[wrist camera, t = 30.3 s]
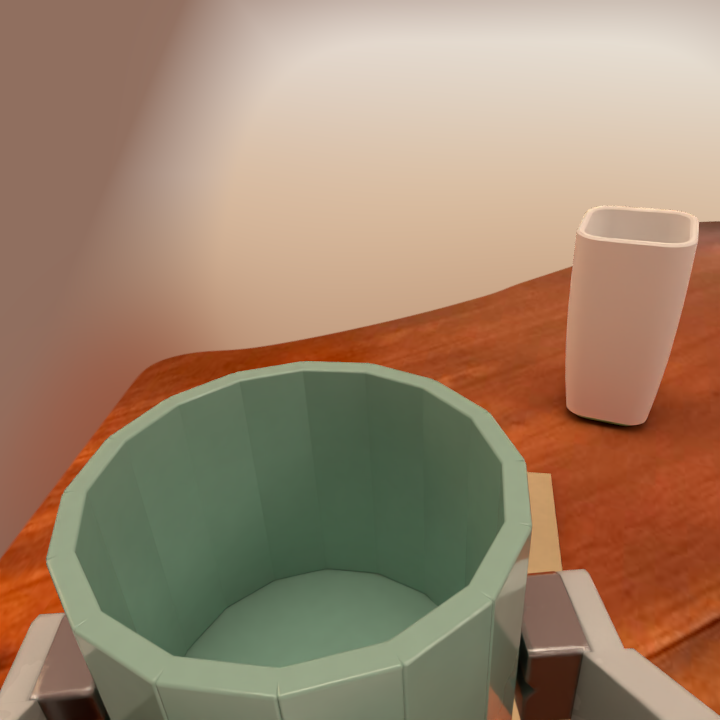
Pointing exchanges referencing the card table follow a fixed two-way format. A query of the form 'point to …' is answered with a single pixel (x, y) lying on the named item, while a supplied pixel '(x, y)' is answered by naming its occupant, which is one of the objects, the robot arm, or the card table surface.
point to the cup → (625, 308)
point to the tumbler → (300, 552)
